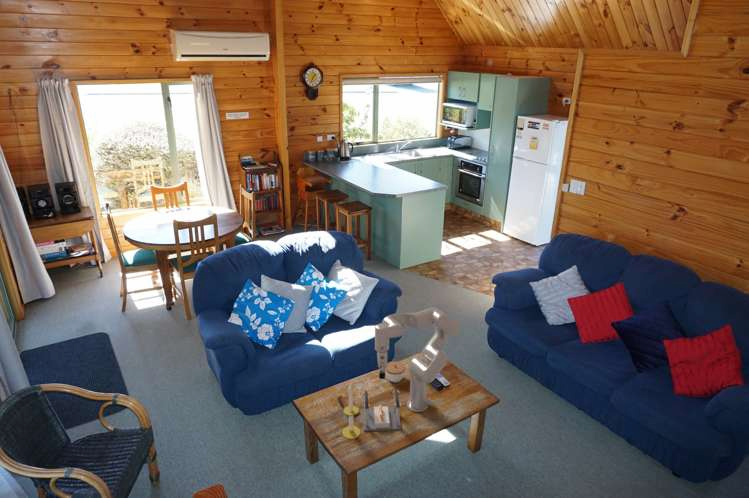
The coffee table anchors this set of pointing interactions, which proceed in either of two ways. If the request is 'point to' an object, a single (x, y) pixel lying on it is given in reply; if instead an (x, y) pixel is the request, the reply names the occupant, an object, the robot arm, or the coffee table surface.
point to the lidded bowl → (395, 371)
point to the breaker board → (372, 425)
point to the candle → (351, 418)
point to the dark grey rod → (366, 400)
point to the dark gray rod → (397, 399)
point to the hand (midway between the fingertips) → (381, 373)
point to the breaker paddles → (380, 412)
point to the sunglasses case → (344, 402)
